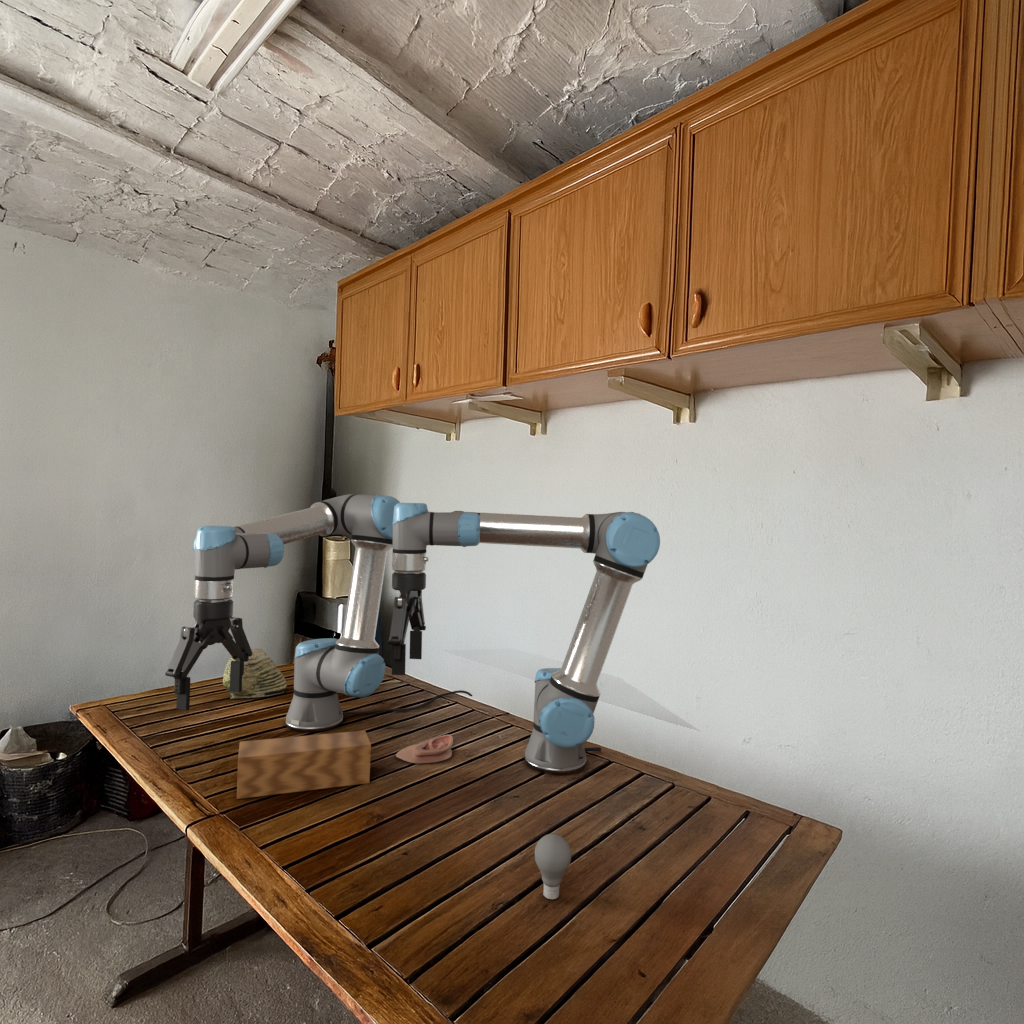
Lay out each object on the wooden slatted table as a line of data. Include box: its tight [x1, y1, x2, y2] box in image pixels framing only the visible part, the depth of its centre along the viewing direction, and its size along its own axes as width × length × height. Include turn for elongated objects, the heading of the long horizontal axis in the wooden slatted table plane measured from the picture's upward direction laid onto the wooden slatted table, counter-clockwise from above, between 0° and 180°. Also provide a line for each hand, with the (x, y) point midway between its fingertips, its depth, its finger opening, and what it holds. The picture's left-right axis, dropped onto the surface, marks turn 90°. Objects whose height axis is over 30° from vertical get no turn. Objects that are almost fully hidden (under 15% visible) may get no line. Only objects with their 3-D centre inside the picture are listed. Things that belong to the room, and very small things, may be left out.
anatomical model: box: [395, 734, 454, 764], centre depth 157 cm, size 13×4×12 cm
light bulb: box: [534, 833, 573, 900], centre depth 103 cm, size 6×6×10 cm
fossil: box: [222, 647, 288, 699], centre depth 198 cm, size 9×18×15 cm, turn 132°
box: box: [236, 729, 372, 800], centre depth 140 cm, size 27×9×9 cm, turn 111°
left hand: (210, 699), depth 133 cm, fingers open, 13 cm apart
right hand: (407, 666), depth 142 cm, fingers open, 13 cm apart
